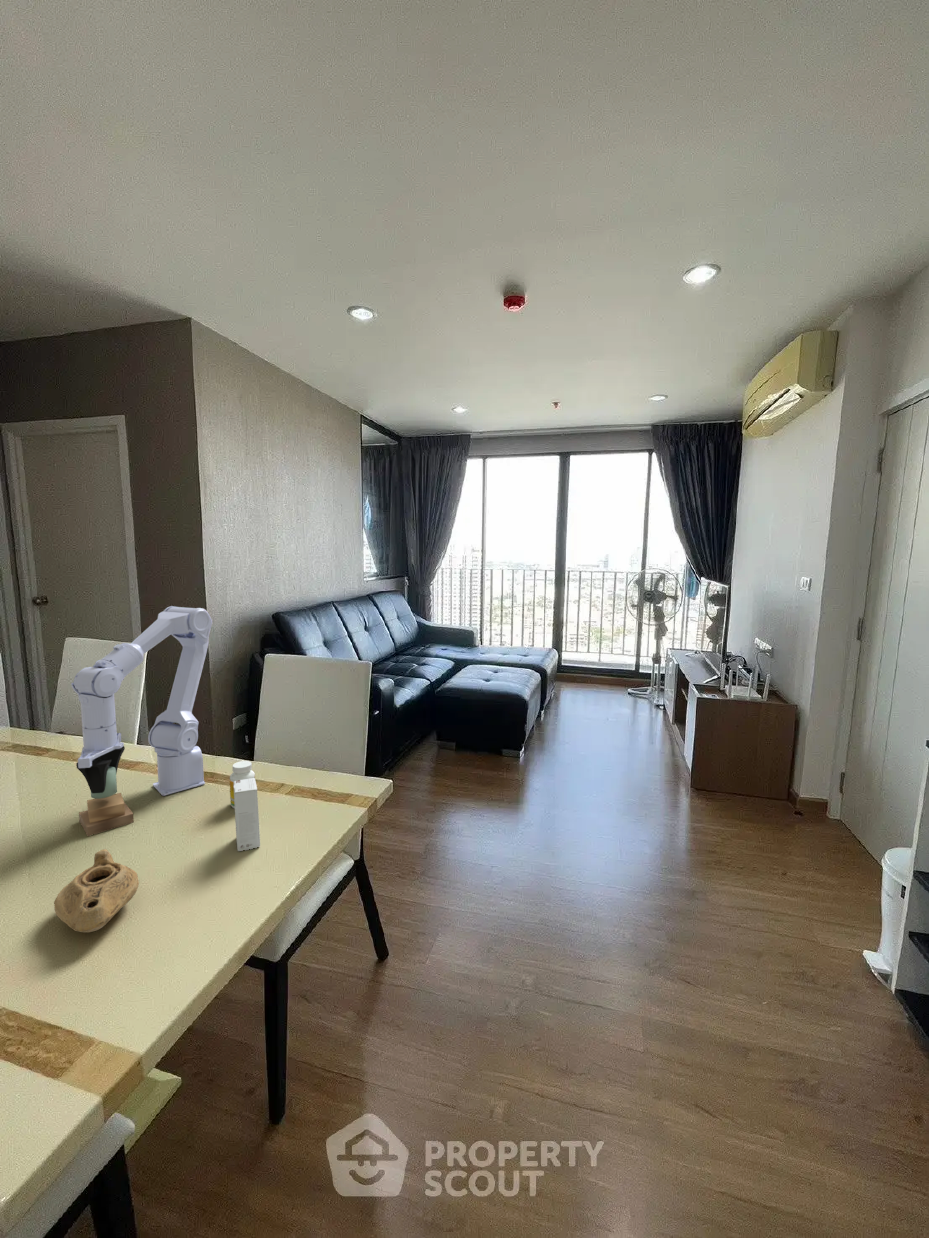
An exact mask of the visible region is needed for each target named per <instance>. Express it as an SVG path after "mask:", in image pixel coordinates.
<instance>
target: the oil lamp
mask: <svg viewBox="0 0 929 1238" xmlns="http://www.w3.org/2000/svg"><path fill="white" fill-rule="evenodd" d="M93 860H94V862H93V865H91V866H90V867H88V868H86V869H84V871H83V872H81V873H79V874H77V875H76V876H75V877H74V878H73V879H72V881H70V882H68V884H66V885H65V886H64V887H63V888H62V889H61V890H60V891H59V893H58V894H57V895H56V897H55V899H54V901H53V905H54V912H55V914H56V916H57V918H59V920H61V922H63V923H65V924H66V925H67V926H68V927H69V928H70V929H72V930H74V931H75V932H79V933H91V932H95V931H98V930H101V929H102V928H104V927H105V926H106V925H107V924H108V923H109V921H111V919H113V917H115V915H116V914H118V912H119V911H120V910H121V909H123V907H125V905H127V904H128V903H129V902H130V901H131V900H132V899H133V898H134V896H135V895H136V893H137V891H138V889H139V886H140V885H139V884H140V882H139V881H140V880H139V877H138V873H137V872H136V871H135V870H134V869H132V868H131V867H128V866H126V865H124V864H121V863H120V862H115V860H114V859H113V856H112V854H111V853H110V852H109V850H108V849H104V848H103V849H100V850H98V851H97V852H95V854H94V859H93Z"/></svg>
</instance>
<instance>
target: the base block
mask: <svg viewBox="0 0 929 1238" xmlns="http://www.w3.org/2000/svg"><path fill="white" fill-rule="evenodd" d="M124 807H125V815H121V816H117V817H113V818H109V819H105V820H101V821H97V822H92V823H90V822H89V816H88V809H87V810H83V811H81V812H78V817H79V818H78V819H79V820H78V821H79V824H80V825H81V828H82V829H83V830H84V832H85V834H86V837H91V836H93V835H92V834H94V835H98V834H100V833H104V832H106V831H110V830H113V829H117V828H121V827H123V826H127V825H130V824H132V823H134V821H135V820H134V813H133V811H132V809H131V808H130V807H129V806H128V804H127V803H126V802H125V801H124ZM90 835H91V836H90Z"/></svg>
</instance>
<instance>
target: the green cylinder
mask: <svg viewBox="0 0 929 1238" xmlns="http://www.w3.org/2000/svg"><path fill="white" fill-rule="evenodd" d="M117 782H118V781H117V774H116V768H115V767H110V766H109V767H108V770H107V775H106V787H105V791H104V792H103V793H92V792H91V791H90V797H91V798H92V799H100V798H106V797H109V796H112V795H114V794H117V792H118V785H117Z"/></svg>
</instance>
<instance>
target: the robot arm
mask: <svg viewBox="0 0 929 1238" xmlns="http://www.w3.org/2000/svg"><path fill="white" fill-rule="evenodd" d="M213 622H214V621H213V618H212V617H211V615H210V613H209V612H208V610H206V609H205V608H203V607H202V608H201V607H196V608H195V607H184V606H182V607H181V606H175V605H174V606H173V605H170V606H168V607H166V608H165V609H164V610H163V611H161V612H159V613H158V614H157V619H156V620H154V621H153V623H151V624H150V625H149V626H148V627H147V628H145V630H144V631H143V632H141V634H139V635H138V636H137V637H136V638H135V639H134V640H132V642H131V643H128V642H122V643H120V644H119V643H117V644H116V645H114V646H113V647H112V650H111V651H110V652H109V653H107V654H106V655H105V656H103V658H101V659H98V660H96V661H95V663H94V664H93V666H88V667H87V666H85V667H83V668H82V669H80V670H79V671H78V672H77V673H76V674H75V676H74V679H73V682H71V683H70V684H71V685H70V686H71V688H72V690H73V692H75V693H76V694H77V696H78V697H77V698H78V701H79V703H80V712H81V714H80V715H81V727H82V728H81V729H82V742H83V746H82V748H81V749H82V750H81V754H80V756H79V757H78V758H77V762H76V770H78V771H79V772H80V773H81V775H83V777H84V779H85V780H86V782H87V785H88V787H89V790H90V793H91V792H92V793H103V792H104V791H105V787H106V775H107V770H108V767H109V766H110V767H115V768H116V775H117V772H118V768H119V763H120V760H121V757H122V755H123V754H124V751H125V750H126V749H125V743H124V742H122V733H121V732H117V731H118V730H117V718H116V716H117V715H116V701H115V694H116V693H117V692H118V691H119V689H120V688H121V685H122V682H123V681H124V679H125V678H126V677H127V676H128V675H129V674H131V673H132V672H133V671H134V670H135V669H137V667H139V666H140V665H141V664H142V663H143V662H144V658H145V657H144V655H145V654H146V653H147V652H149V651H150V650H151V649H153V648H154V647H155V646H157V645H158V644H160V643H161V642H162V641H164V640H165V639H166V638H168V637H170V636H172V637H173V638H175V639H176V640H177V641H178V642H179V643H180V645H181V646H182V650H181V654H180V657H179V661H178V665H177V669H176V673H175V677H174V681H173V684H172V688H171V692H170V696H169V699H168V702H167V707H166V709H165V710H164V711H163V712H161V713H160V714H159V715H158V716H156V718H155V722H154V724H153V725H152V727H151V728H150V730H149V732H148V736H147V740H148V744H149V745H150V746H151V748H154V753H156V761H157V762H156V763H157V764H156V765H157V779H158V780H157V782H153V783H152V786H153V787H154V788H155V789H156V790H157V792H158V793H159V794H161V796H163V797H164V796H167V795H171V794H175V793H178V792H179V793H180V792H182V791H185V790H188V789H192V788H196V787H199V786H203V785H204V784H205V785H206V782H205V780H204V777H205V775H204V759H203V753H202V749H201V748H200V747H199V746H198V745H197V742H198V739H199V731H198V729H199V721H198V719H197V718H196V717H195V716H194V714H193V708H194V705H195V701H196V696H197V693H198V692H197V691H198V688H199V684H200V679H201V676H202V672H203V669H204V663H205V660H206V656H207V653H208V648H209V644H210V643H209V642H210V640H209V638H210V633H211V629H212V626H213ZM175 723H176V724H175Z"/></svg>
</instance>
